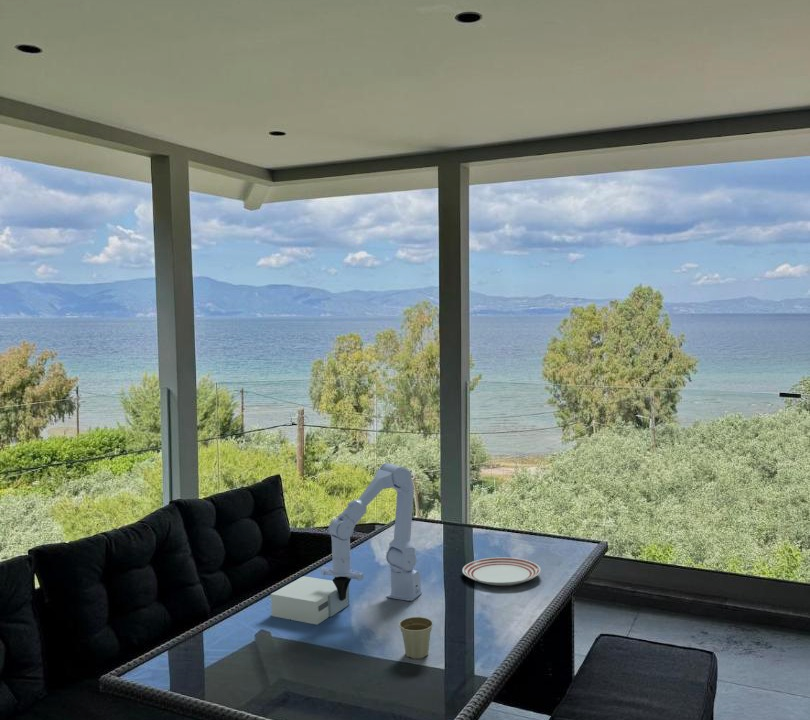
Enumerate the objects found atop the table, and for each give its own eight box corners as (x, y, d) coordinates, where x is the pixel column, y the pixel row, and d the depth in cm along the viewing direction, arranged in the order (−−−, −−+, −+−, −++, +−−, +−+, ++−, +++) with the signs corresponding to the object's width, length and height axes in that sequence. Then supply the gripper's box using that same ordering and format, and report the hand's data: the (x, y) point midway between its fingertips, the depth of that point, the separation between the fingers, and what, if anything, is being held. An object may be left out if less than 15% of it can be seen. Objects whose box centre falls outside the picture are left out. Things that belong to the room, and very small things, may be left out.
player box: (348, 604, 249) (347, 583, 249) (317, 624, 233) (317, 602, 233) (304, 596, 257) (303, 576, 257) (271, 615, 241) (270, 594, 241)
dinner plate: (452, 586, 264) (452, 576, 264) (474, 561, 290) (474, 553, 290) (531, 595, 254) (531, 585, 254) (547, 569, 280) (547, 560, 280)
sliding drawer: (349, 604, 249) (348, 584, 248) (331, 616, 239) (330, 595, 238) (322, 599, 253) (321, 580, 253) (302, 611, 244) (302, 591, 243)
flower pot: (409, 664, 205) (408, 633, 205) (393, 651, 214) (392, 621, 213) (440, 656, 210) (439, 625, 209) (423, 644, 218) (422, 614, 217)
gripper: (314, 558, 242) (316, 600, 243) (354, 563, 235) (356, 607, 236) (327, 551, 248) (328, 593, 249) (366, 557, 242) (367, 599, 243)
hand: (342, 599), depth 243 cm, fingers closed
